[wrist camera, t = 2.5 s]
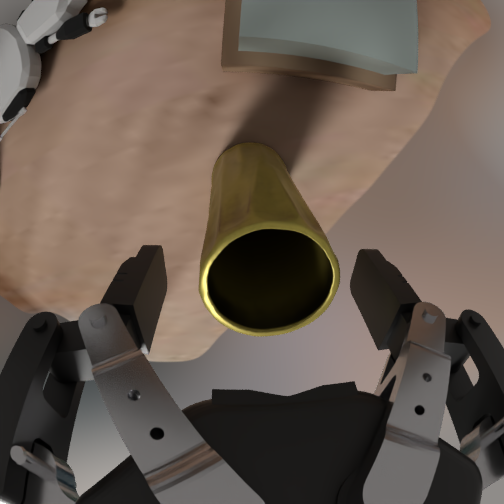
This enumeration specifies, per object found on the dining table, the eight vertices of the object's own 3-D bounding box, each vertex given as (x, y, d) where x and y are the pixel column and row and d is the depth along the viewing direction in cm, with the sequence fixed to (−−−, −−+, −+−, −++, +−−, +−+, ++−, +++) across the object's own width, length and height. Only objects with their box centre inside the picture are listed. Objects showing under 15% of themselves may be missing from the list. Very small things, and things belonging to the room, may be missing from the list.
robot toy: (74, -34, 9) (-21, 72, 12) (56, -49, 5) (-47, 73, 8) (126, 26, 15) (17, 141, 18) (109, 11, 11) (-11, 150, 14)
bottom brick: (223, 71, 17) (221, 64, 14) (233, -47, 11) (233, -69, 8) (370, 90, 18) (395, 91, 15) (372, -22, 12) (393, -35, 9)
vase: (243, 126, 20) (261, 168, 8) (301, 173, 22) (381, 273, 10) (197, 185, 22) (155, 300, 10) (255, 225, 24) (277, 360, 12)
